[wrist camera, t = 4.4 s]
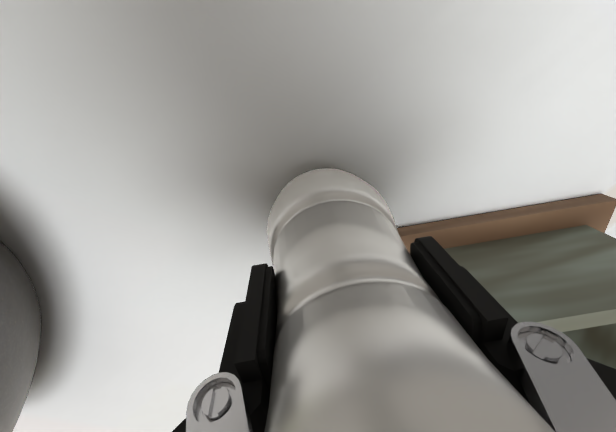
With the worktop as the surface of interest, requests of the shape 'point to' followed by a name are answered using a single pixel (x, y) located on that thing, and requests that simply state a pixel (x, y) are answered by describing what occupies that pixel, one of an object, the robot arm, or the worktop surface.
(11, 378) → the bowl
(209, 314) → the worktop surface
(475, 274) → the bottle holder
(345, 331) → the silver bottle
